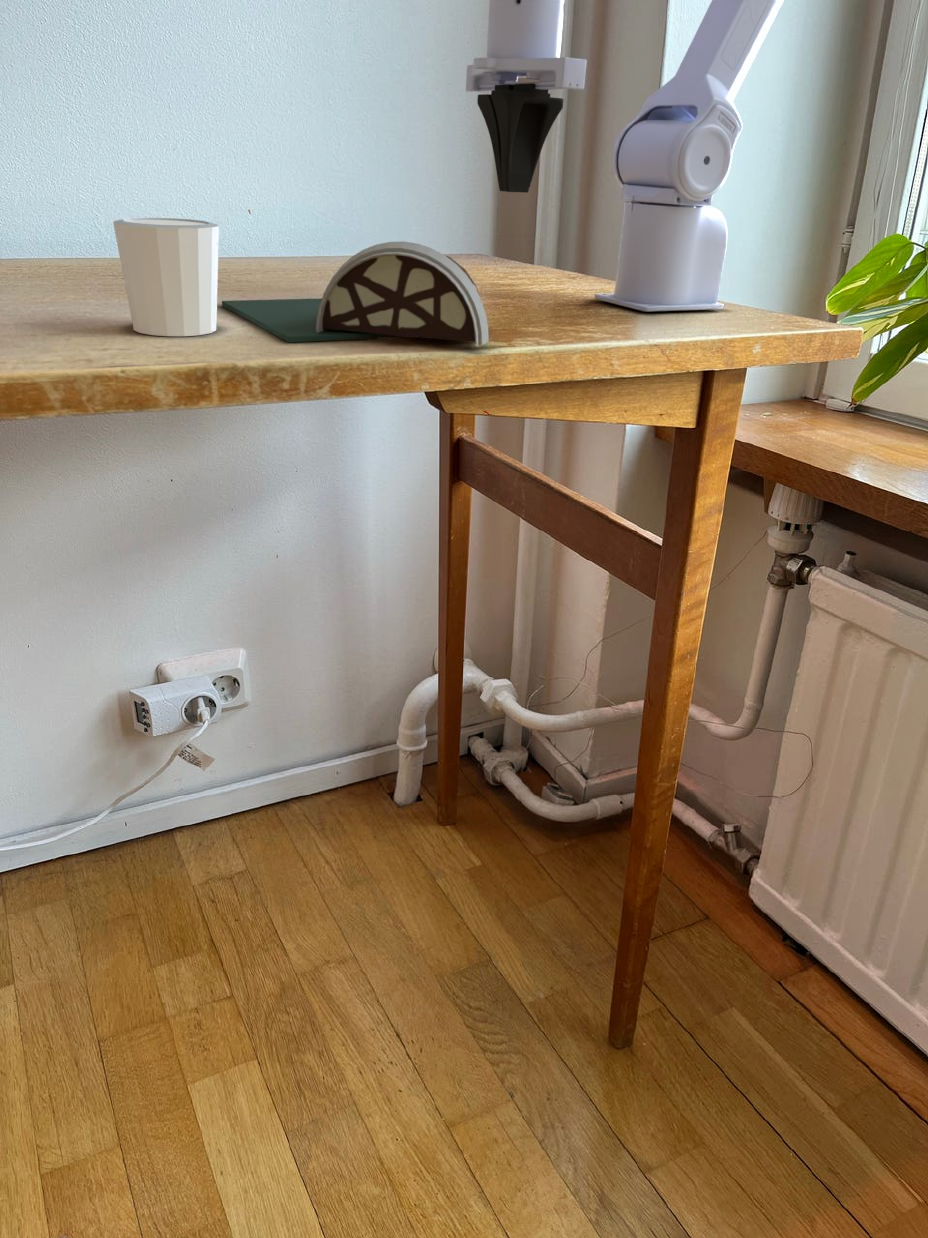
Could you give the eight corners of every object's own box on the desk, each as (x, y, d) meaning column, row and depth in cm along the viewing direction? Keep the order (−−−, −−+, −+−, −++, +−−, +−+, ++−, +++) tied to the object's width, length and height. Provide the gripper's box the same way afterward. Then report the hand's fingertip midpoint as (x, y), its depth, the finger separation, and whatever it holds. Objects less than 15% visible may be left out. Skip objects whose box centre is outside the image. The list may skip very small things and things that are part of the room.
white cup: (133, 339, 62) (122, 225, 59) (115, 321, 68) (104, 215, 65) (236, 335, 65) (231, 226, 62) (212, 319, 71) (205, 217, 68)
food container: (508, 238, 70) (490, 250, 62) (502, 324, 73) (484, 347, 64) (347, 227, 72) (307, 237, 63) (347, 311, 75) (309, 332, 66)
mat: (358, 302, 82) (358, 297, 82) (444, 335, 70) (444, 329, 69) (221, 305, 77) (221, 300, 76) (288, 342, 64) (288, 336, 64)
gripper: (436, -3, 75) (430, 184, 81) (534, -23, 64) (518, 196, 70) (511, 8, 79) (500, 187, 85) (617, -10, 67) (596, 198, 73)
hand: (514, 191), depth 78 cm, fingers closed
